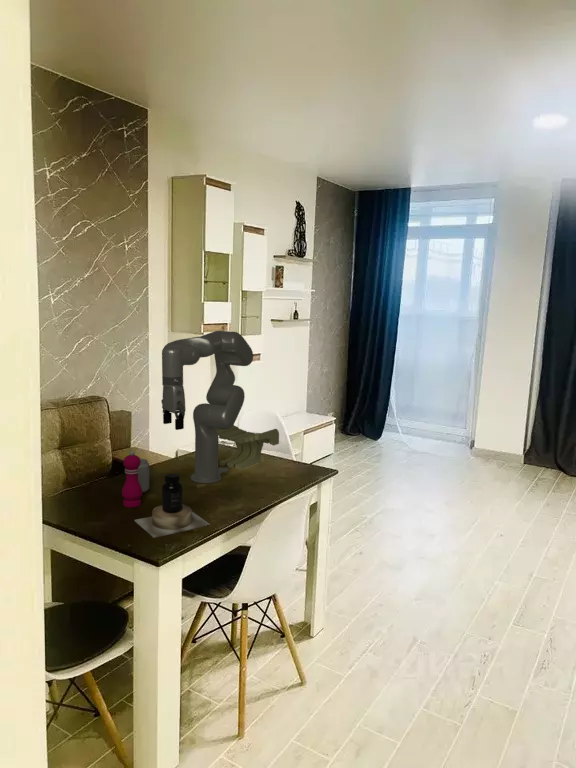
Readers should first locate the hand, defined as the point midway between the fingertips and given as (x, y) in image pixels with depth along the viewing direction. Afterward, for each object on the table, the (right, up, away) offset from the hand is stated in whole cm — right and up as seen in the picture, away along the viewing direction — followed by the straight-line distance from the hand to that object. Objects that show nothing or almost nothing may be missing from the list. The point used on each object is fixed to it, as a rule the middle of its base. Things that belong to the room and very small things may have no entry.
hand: (173, 426), depth 222 cm
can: (-15, -26, +10) cm, 31 cm away
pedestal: (+4, -31, -21) cm, 37 cm away
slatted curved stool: (+21, -21, +50) cm, 58 cm away
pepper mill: (-14, -28, -5) cm, 32 cm away
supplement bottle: (+4, -27, -21) cm, 34 cm away
